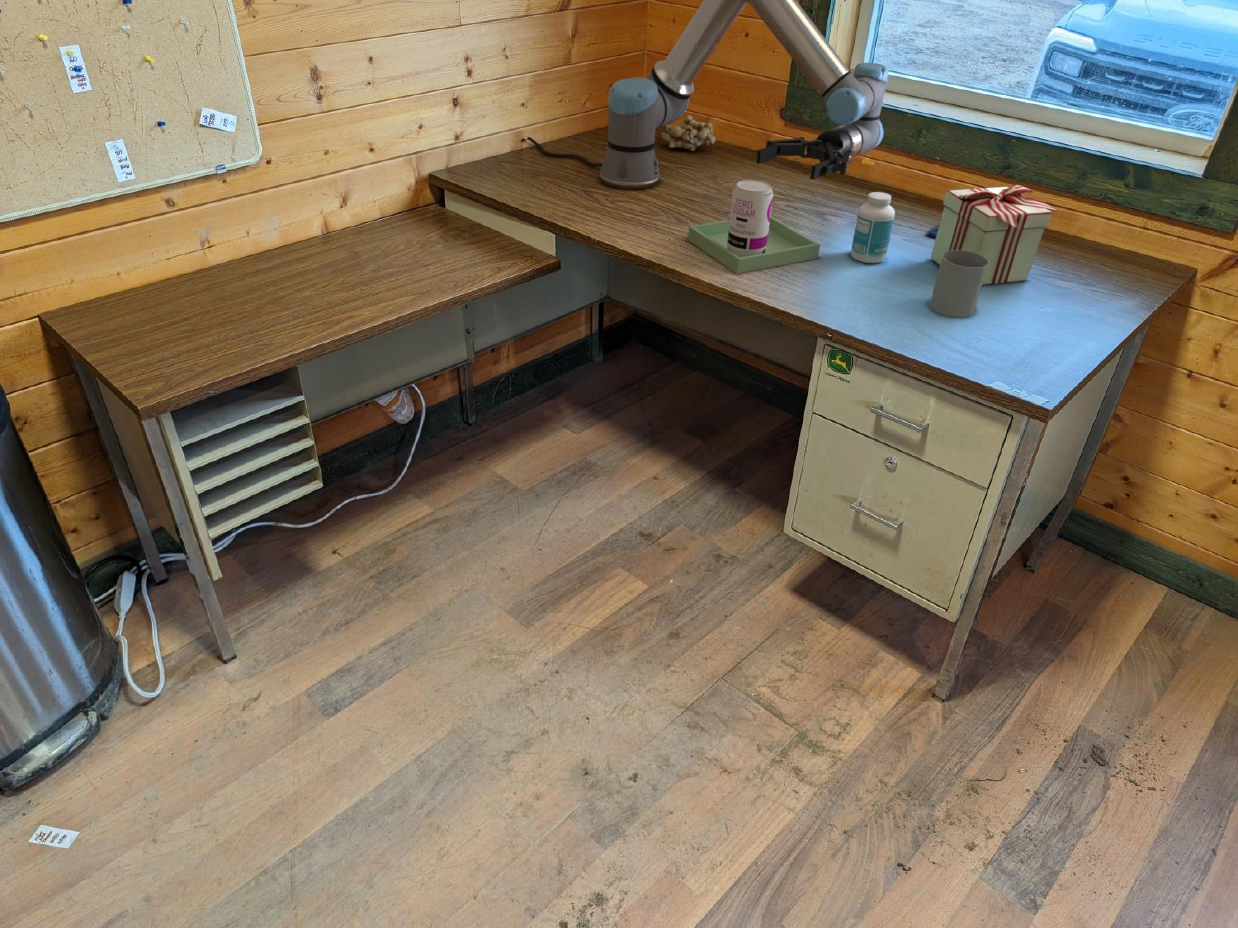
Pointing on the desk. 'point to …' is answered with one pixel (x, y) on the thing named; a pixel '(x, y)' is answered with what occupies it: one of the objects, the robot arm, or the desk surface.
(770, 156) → the robot arm
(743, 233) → the supplement can
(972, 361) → the desk surface
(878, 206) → the pill bottle
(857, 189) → the desk surface
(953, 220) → the gift box
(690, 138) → the mineral formation
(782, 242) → the tray
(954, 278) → the cup
